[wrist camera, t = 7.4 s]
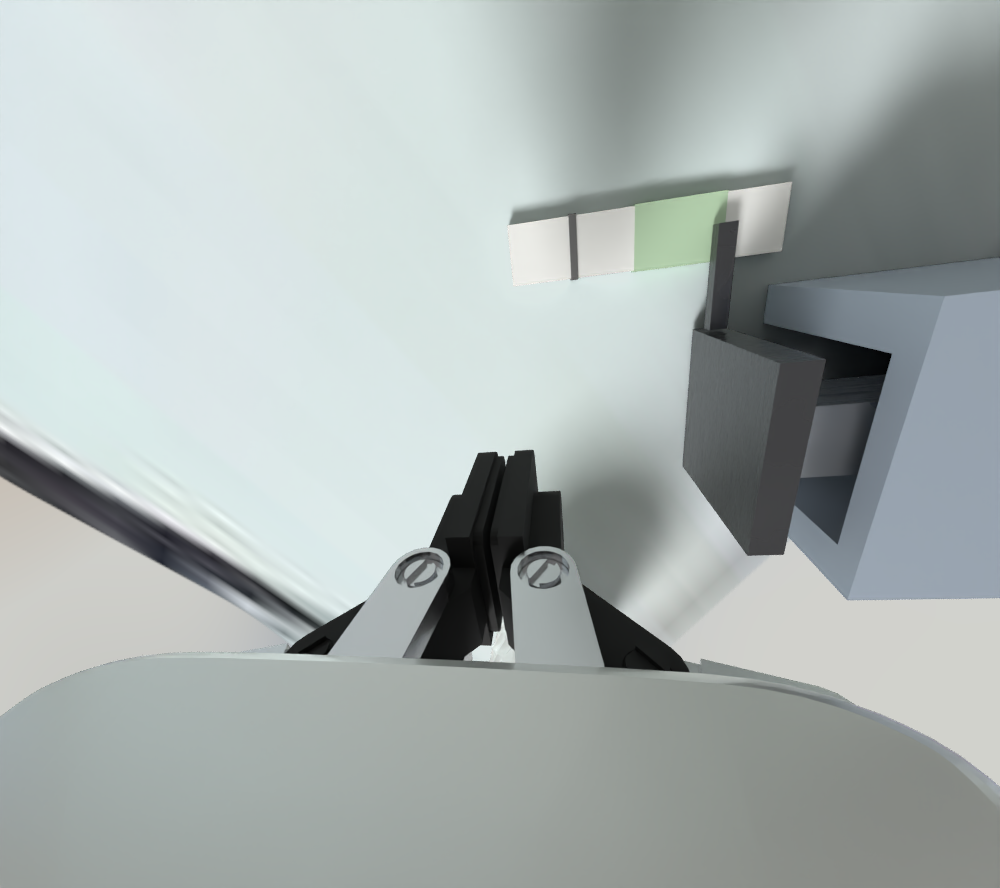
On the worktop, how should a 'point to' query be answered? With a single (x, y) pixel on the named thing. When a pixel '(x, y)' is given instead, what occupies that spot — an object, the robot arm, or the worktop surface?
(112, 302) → the worktop surface
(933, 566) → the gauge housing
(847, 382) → the plunger
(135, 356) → the worktop surface
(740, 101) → the worktop surface
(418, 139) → the worktop surface
